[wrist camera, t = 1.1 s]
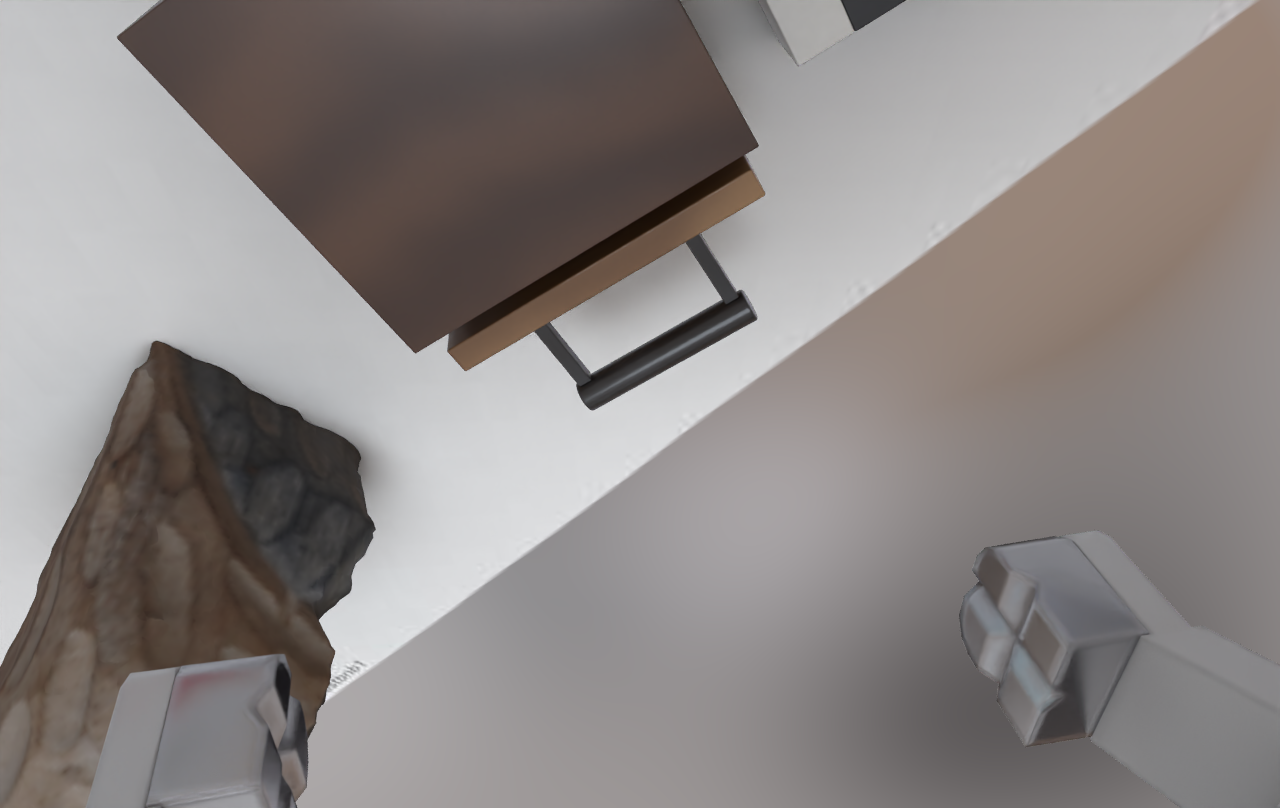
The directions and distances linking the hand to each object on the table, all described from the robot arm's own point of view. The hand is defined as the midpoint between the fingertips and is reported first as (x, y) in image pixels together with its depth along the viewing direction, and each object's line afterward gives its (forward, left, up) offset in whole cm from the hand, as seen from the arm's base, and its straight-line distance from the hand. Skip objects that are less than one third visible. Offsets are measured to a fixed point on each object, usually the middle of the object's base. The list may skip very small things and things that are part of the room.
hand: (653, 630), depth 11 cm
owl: (+27, +9, -32) cm, 43 cm away
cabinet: (+4, -1, -32) cm, 32 cm away
